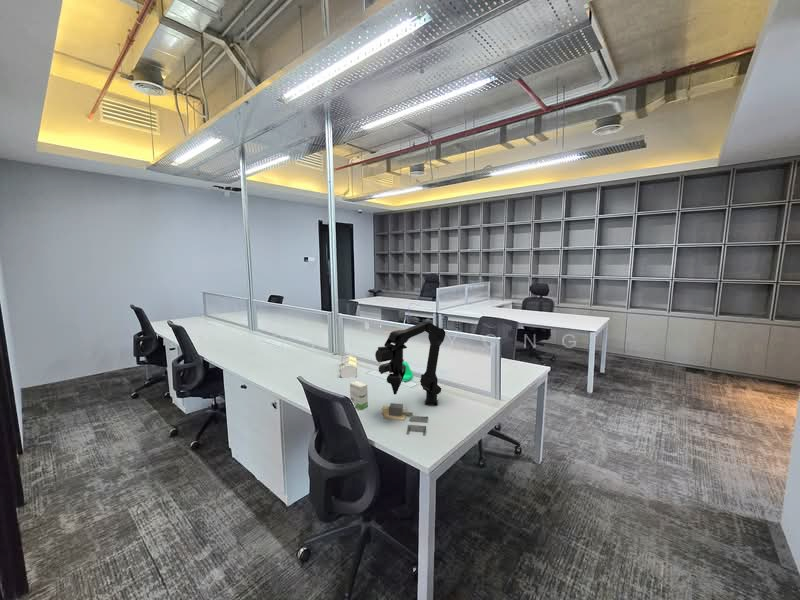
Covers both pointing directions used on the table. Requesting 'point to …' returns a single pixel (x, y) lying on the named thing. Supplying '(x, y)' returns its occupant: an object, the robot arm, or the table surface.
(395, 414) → the plug
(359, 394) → the ink box
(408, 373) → the camera mount
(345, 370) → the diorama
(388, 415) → the pad
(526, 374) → the table surface
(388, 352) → the robot arm
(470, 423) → the table surface
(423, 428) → the pair of grey brackets
